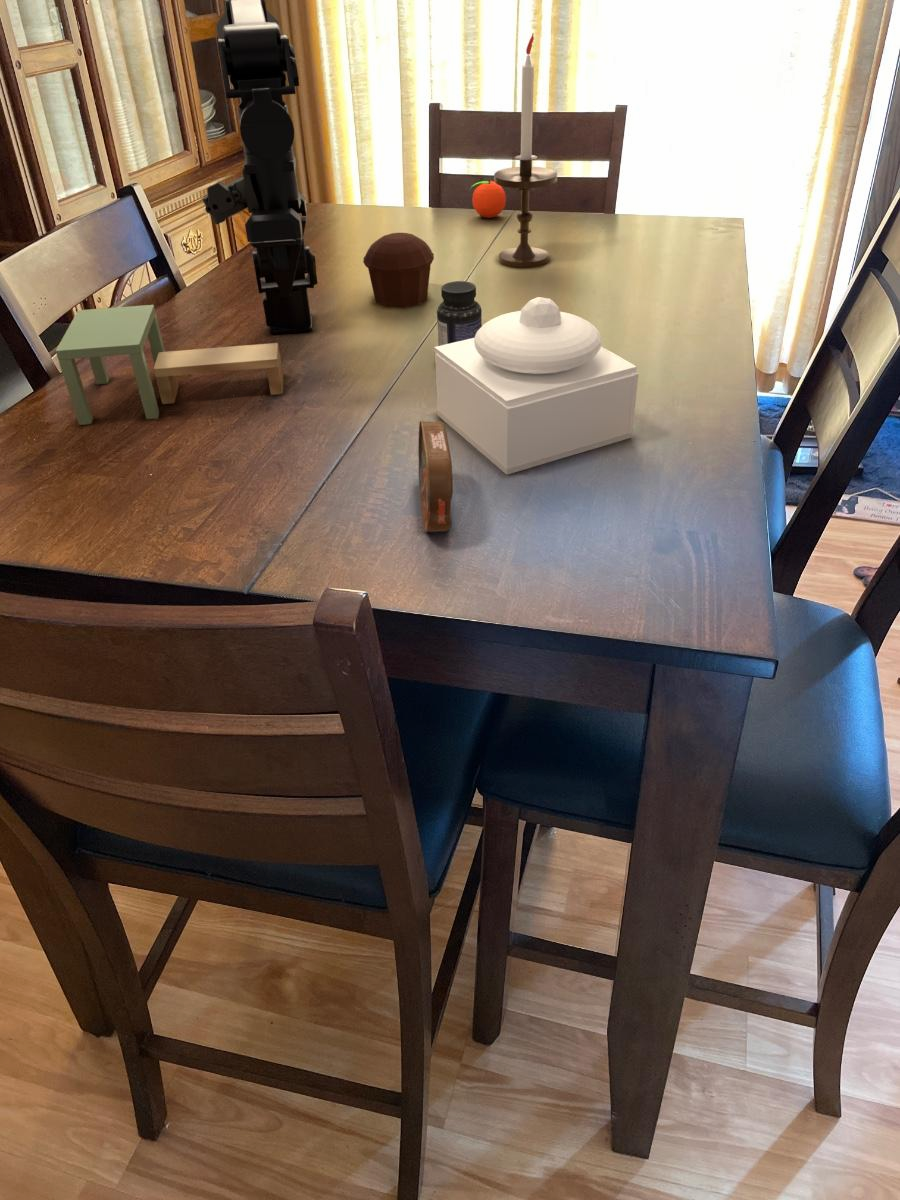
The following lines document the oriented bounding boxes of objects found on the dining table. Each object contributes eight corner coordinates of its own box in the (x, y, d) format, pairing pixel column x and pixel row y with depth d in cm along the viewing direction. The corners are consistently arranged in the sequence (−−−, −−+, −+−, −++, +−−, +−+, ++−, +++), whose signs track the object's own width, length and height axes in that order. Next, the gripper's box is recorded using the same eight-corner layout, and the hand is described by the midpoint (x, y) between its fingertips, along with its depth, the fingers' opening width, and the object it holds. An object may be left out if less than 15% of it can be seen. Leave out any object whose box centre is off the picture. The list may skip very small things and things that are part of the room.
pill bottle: (487, 358, 126) (487, 281, 119) (474, 375, 122) (473, 296, 115) (447, 354, 128) (444, 277, 121) (432, 370, 123) (429, 292, 116)
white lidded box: (506, 475, 100) (508, 340, 90) (435, 413, 113) (430, 289, 103) (632, 437, 106) (646, 307, 96) (551, 383, 119) (556, 263, 109)
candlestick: (563, 255, 162) (575, 29, 140) (536, 272, 155) (543, 37, 133) (512, 247, 166) (515, 27, 145) (483, 263, 159) (481, 35, 138)
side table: (170, 374, 125) (153, 304, 119) (158, 418, 114) (139, 344, 108) (98, 380, 124) (77, 310, 118) (79, 425, 113) (55, 350, 107)
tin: (417, 474, 101) (413, 407, 96) (445, 472, 101) (442, 405, 96) (426, 549, 89) (421, 476, 84) (457, 546, 89) (454, 474, 84)
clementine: (465, 221, 181) (464, 184, 176) (470, 212, 186) (469, 176, 182) (503, 222, 180) (504, 184, 175) (507, 212, 185) (507, 176, 181)
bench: (283, 377, 123) (277, 342, 120) (282, 394, 119) (277, 358, 116) (167, 386, 122) (158, 352, 119) (162, 404, 117) (153, 368, 114)
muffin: (394, 316, 140) (390, 251, 134) (352, 299, 147) (346, 237, 140) (449, 297, 146) (448, 234, 140) (407, 282, 153) (404, 221, 147)
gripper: (210, 147, 111) (232, 275, 120) (188, 165, 96) (215, 311, 104) (298, 142, 112) (314, 269, 120) (290, 158, 96) (309, 304, 105)
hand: (288, 287), depth 112 cm, fingers open, 9 cm apart
